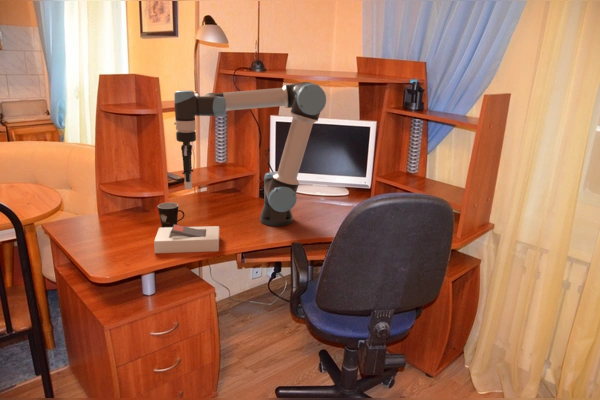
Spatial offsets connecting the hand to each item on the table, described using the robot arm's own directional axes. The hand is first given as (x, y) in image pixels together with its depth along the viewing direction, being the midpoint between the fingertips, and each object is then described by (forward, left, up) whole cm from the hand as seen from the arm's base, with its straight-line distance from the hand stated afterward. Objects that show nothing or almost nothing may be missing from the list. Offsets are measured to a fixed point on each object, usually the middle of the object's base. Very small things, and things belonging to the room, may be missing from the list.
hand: (188, 188), depth 181 cm
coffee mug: (+9, -8, -21) cm, 24 cm away
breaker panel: (0, +11, -20) cm, 23 cm away
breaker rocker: (0, +11, -15) cm, 19 cm away
